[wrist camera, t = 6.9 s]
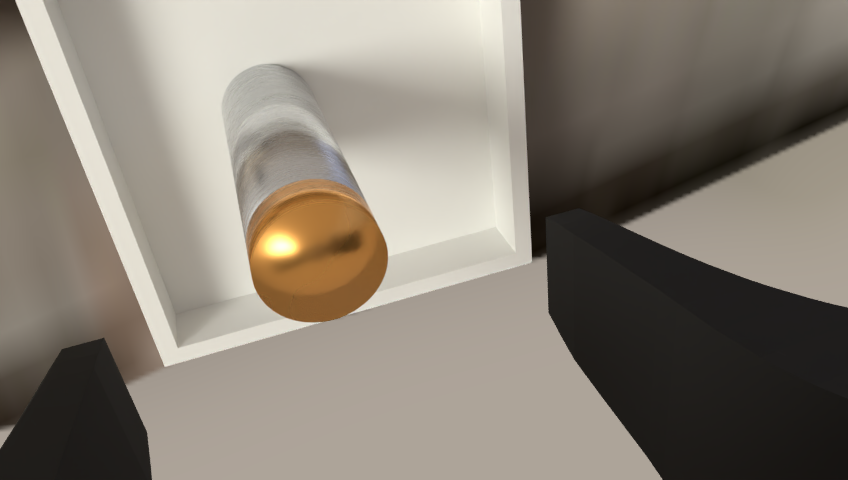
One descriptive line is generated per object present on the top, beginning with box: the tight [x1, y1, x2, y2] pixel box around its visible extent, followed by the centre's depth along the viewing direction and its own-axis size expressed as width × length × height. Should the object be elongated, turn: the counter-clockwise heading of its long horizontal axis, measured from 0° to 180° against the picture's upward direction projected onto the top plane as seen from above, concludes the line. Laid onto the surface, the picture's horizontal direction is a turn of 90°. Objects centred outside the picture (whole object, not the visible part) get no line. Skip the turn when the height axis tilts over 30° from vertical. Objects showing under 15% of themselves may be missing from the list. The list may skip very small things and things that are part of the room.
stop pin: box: [222, 64, 388, 323], centre depth 17 cm, size 2×2×8 cm
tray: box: [15, 0, 532, 367], centre depth 20 cm, size 11×11×2 cm
